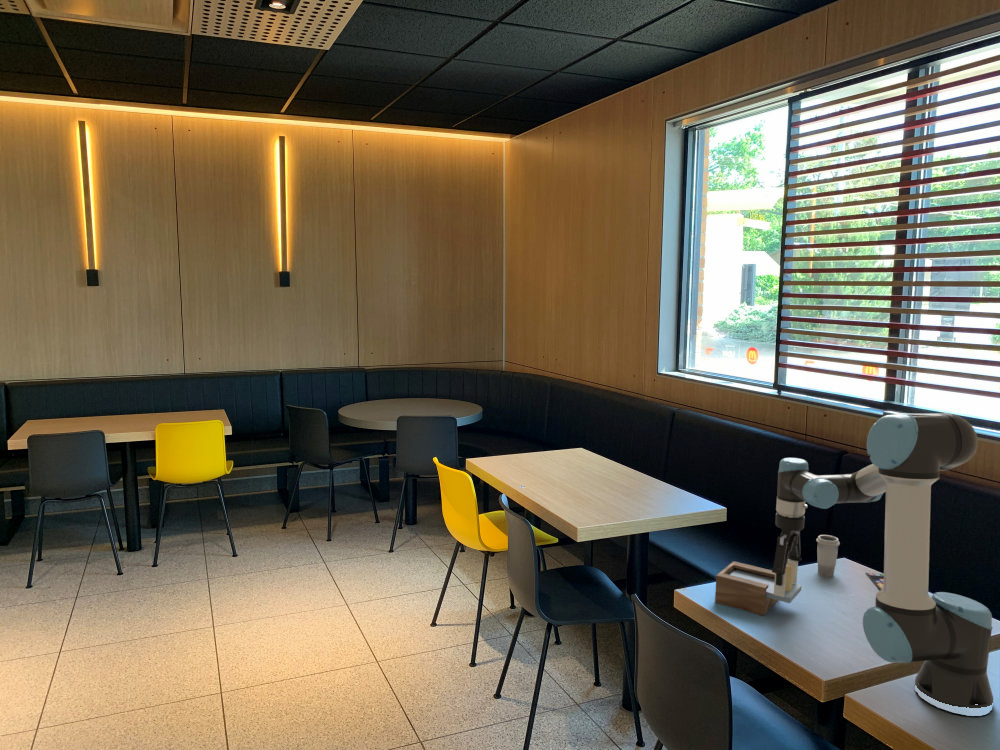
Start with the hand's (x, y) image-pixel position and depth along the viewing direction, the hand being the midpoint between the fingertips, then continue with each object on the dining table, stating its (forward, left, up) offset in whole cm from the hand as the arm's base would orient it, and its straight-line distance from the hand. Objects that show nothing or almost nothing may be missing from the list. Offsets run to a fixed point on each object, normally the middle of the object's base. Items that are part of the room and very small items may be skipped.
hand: (785, 588), depth 210 cm
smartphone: (+40, -20, -7) cm, 45 cm away
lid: (0, +7, -2) cm, 7 cm away
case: (0, +10, -7) cm, 12 cm away
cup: (+36, -3, -7) cm, 37 cm away
